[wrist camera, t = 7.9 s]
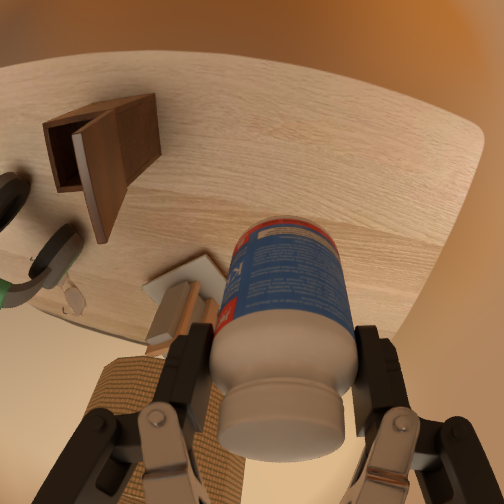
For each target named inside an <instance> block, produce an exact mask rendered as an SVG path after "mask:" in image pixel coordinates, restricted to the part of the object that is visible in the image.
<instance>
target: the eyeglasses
mask: <svg viewBox="0 0 504 504" xmlns="http://www.w3.org/2000/svg"><path fill="white" fill-rule="evenodd" d="M31 259H32V257H31ZM31 259H30V261H33V260H31ZM66 277H67V272H66V273H65V275H64V276H63V277H62V279H61V280H60V281H59V282H58V284H57V286H58V287H61V289H62V286H63V284H64V282H65V280H66ZM62 291H63V289H62ZM63 292H64V291H63ZM64 293H65V298H66V301H67V302H68V304H69V306H70V307H71V308H72V310H73V311H74V312H75V314H76V315H74V316H79V317H82V314H81V313H82V311H83V309H84V307H85V300H84V298H83V296H82V294H81V293H80V292H79V290H78V289H77V288H71V289H70V288H69V289H67V290H66V291H65V292H64ZM63 313H64V308H63ZM64 314H67V313H64ZM69 315H73V314H69ZM80 315H81V316H80Z"/></svg>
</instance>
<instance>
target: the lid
mask: <svg viewBox="0 0 504 504" xmlns="http://www.w3.org/2000/svg"><path fill="white" fill-rule="evenodd" d="M72 141H73V146H74V151H75V156H76V161H77V166H78V170H79V175H80V179H81V184H82V188H83V192H84V196H85V200H86V204H87V208H88V211H89V215H90V219H91V222H92V226H93V229H94V233H95V236H96V240H97V243H98V244H105V243H107V242H108V239H109V236H110V234H111V231H112V228H113V225H114V223H115V220H116V218H117V215H118V212H119V210H120V207H121V205H122V202H123V200H124V197H125V195H126V192H127V190H128V189H127V184H126V179H125V173H124V168H123V162H122V156H121V150H120V143H119V137H118V130H117V123H116V115H115V109H111V110H107V111H106V112H104V113H103V114H101V115H99V116H98V117H96V118H95V119H93V120H92V121H90V122H89V123H87V124H86V125H85V126H83V127H82V128H80V129H79V130H77V131H76V132H75V133H73V134H72Z"/></svg>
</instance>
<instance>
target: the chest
mask: <svg viewBox="0 0 504 504" xmlns="http://www.w3.org/2000/svg"><path fill="white" fill-rule="evenodd" d="M111 109H115V115H116V123H117V130H118V137H119V143H120V150H121V156H122V162H123V168H124V173H125V179H126V184H127V187H128V186H129V185H130V184H131V183H132V182H133V181H134V180H135V179H136V178H137V177H138V176H139V175H140V174H141V173H142V172H144V171H145V170H146V169H147V168H148V167H149V166H150V165H151V164H152V163H153V162H154V161H155V160H156V159H158V158H159V157H160V156H161V155H162V154H161V146H160V137H159V128H158V119H157V109H156V99H155V93H152V94H145V95H137V96H131V97H125V98H118V99H113V100H107V101H102V102H97V103H92V104H90V105H87V106H84V107H81V108H79V109H76V110H74V111H71V112H68V113H66V114H63V115H61V116H59V117H56V118H54V119H51V120H49V121H47V122H45V123H43V124H42V125H43V131H44V136H45V141H46V146H47V151H48V156H49V160H50V164H51V169H52V173H53V177H54V181H55V185H56V187H57V188H56V189H57V192H58V193H64V192H77V191H83V188H82V184H81V179H80V175H79V170H78V166H77V161H76V156H75V151H74V146H73V141H72V134H73V133H75V132H76V131H77V130H79V129H80V128H82V127H83V126H85V125H86V124H87V123H89V122H90V121H92V120H93V119H95V118H96V117H98V116H99V115H101V114H103V113H104V112H106V111H107V110H111Z"/></svg>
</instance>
